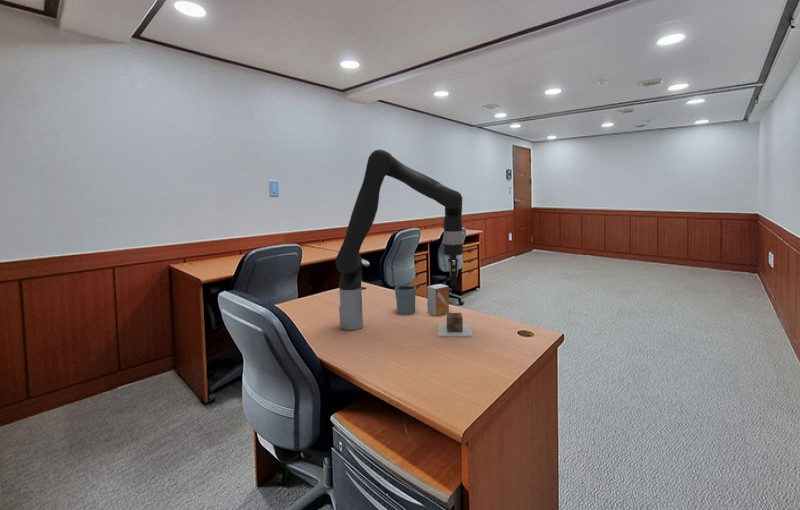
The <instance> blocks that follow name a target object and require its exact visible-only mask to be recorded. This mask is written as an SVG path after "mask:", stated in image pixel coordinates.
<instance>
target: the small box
mask: <svg viewBox="0 0 800 510" xmlns="http://www.w3.org/2000/svg"><path fill="white" fill-rule="evenodd" d="M426 290H427V294H426V295H427V296H426V297H427V314H429V315H432V316H434V317H437V316H441V315H445V314H446V315H447V313H450V309H449V307H450V293H449V291H450V286H449V285H446V284H444V283H443V284H442V283H438V284H432V285H428V286H427V287H426Z"/></svg>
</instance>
